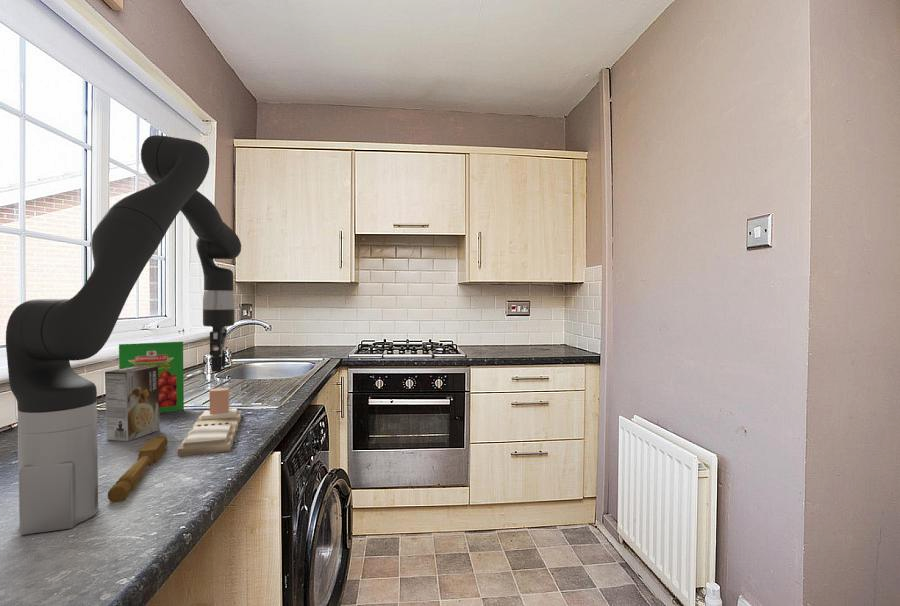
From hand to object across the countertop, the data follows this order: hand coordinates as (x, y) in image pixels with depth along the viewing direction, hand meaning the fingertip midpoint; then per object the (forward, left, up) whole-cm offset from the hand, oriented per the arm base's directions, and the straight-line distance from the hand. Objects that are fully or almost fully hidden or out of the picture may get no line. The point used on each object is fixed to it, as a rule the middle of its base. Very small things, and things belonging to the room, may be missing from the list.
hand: (218, 369), depth 125 cm
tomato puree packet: (+16, +19, -14) cm, 28 cm away
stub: (0, 0, -12) cm, 12 cm away
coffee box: (-6, +18, -14) cm, 24 cm away
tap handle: (-32, +10, -15) cm, 37 cm away
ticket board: (-11, 0, -14) cm, 18 cm away
